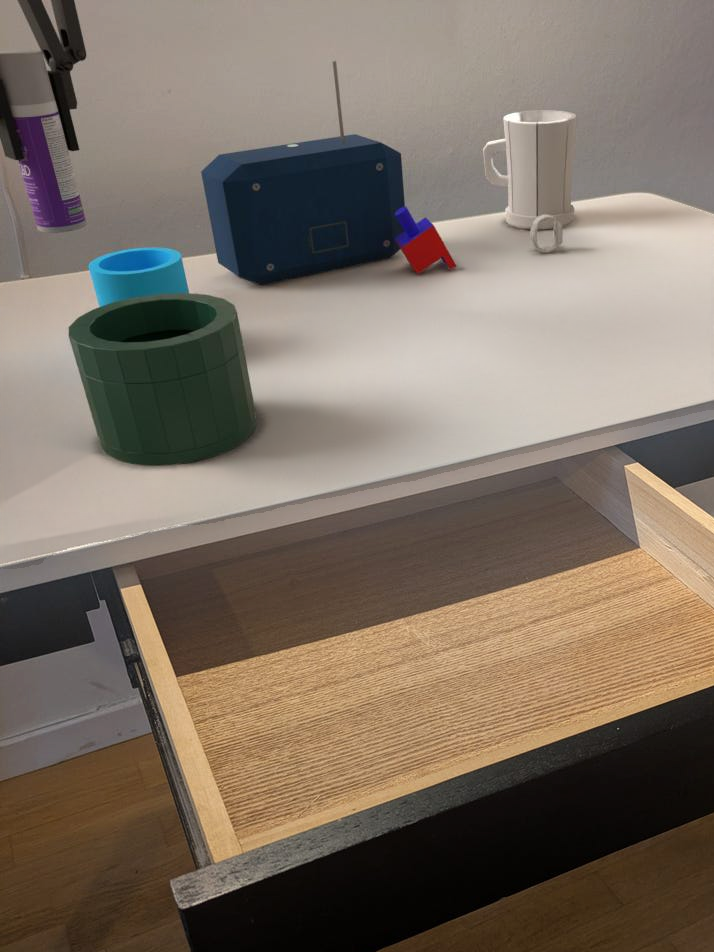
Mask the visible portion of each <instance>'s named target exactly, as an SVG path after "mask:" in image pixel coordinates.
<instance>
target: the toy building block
mask: <svg viewBox="0 0 714 952" xmlns="http://www.w3.org/2000/svg"><path fill="white" fill-rule="evenodd" d="M395 216H396V218H397V219H398V221H399V223H400V224H401V226H402V228H403V229H404V231H405V232H404V233H402V234H401V235H399V236H398V237H397V238H395V240H396V242H397V244H398V245H399V247H400V251H401V252H402V254H403V255H404V257H405V258H406V261H407V262H408V263H409V265H410V267H411V268H412V269H413V270H414V271H415V273H416V274H417V275H419V274H421V273H422V272H423V271H425V270H426V269H428V268H429V267H430V266H432V265H433V264H435V263H436V262H437V261H439V260H441V262H442V263H443V264H444V265H445V266H446V267H447V268H448V269H449V270H450V271H451V270H453V269H455V268H456V267H457V264H456V261H455V260H454V258H453V257H452V255H451V253H450V251H449V250H448V247H447V246H446V244H445V242H444V241H443V239H442V237H441V235H440V234H439V233H438V230H437V229H436V227H435V225H434V224H433V222H431V221H430V220H429V218H427V216H425V217H423V218H422V219H420V220H419V221H418V222H416V220H415V219H414V217H413V215H412V214H411V212H410V210H409V208H408V207H407V206H405V207H402V208H400V209H399V210H397V211H396V213H395Z"/></svg>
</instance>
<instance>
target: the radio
mask: <svg viewBox="0 0 714 952" xmlns="http://www.w3.org/2000/svg"><path fill="white" fill-rule="evenodd" d="M332 69H333V78H334V87H335V97H336V106H337V116H338V125H339V134H340V135H339V136H334V137H333V136H332V137H327V138H320V139H313V140H306V141H300V142H293V143H287V144H280V145H274V146H267V147H266V146H265V147H261V148H253V149H247V150H239V151H234V152H233V151H232V152H227V153H226V152H225V153H221V154H220V153H219V154H218V155H217V156H216V157H214V159H213V160H212V161H210V162H209V164H207V165H206V166H205V167H204V168H203V169H202V170H201V171H200V175H201V179H202V184H203V190H204V195H205V200H206V201H205V202H206V206H207V211H208V216H209V221H210V226H211V231H212V238H213V243H214V248H215V253H216V254H215V255H216V259H217V264H219V265H220V266H221V267H224V268H225V269H226V270H228V271H230V272H231V273H232V274H234V275H235V276H237V277H239V278H241V279H243V280H246V281H250V283H251V282H252V283H254V284H257V285H260V286H265V285H270V284H274V283H279V282H284V281H289V280H294V279H299V278H302V277H307V276H313V275H317V274H322V273H327V272H331V271H335V270H340V269H346V268H349V267H354V266H355V267H356V266H360V265H364V264H370V263H375V262H379V261H383V260H388V259H392V258H393V257H394V256H395V255H396V254H397V253H398V252H399V251H401V249H400V247H399V245H398V244H397V242H396V240H395V238H397V237H398V236H399V235H401V234H402V233H404V232H405V231H404V229H403V228H402V226H401V224H400V223H399V221H398V219H397V218H396V216H395V213H396V211H397V210H399V209H400V208H402V207H406V204H405V203H406V202H405V190H404V189H405V188H404V175H403V162H402V161H403V160H402V153H401V152H400V151H398V150H396V149H394V148H392V147H390V146H388V145H387V144H385V143H383V142H382V141H378V140H375V139H372V138H368V137H366V136H362V135H359V134H357V133H356V134H355V133H353V134H347V135H345V133H344V124H343V123H344V122H343V121H344V120H343V113H342V104H341V103H342V102H341V94H340V84H339V83H340V82H339V75H338V66H337V60H335V61H332Z"/></svg>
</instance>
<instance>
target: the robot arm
mask: <svg viewBox="0 0 714 952" xmlns="http://www.w3.org/2000/svg"><path fill="white" fill-rule="evenodd" d="M17 2H18V4H19V6H20V8H21V11H22V13H23V16H24V17H25V19H26V22H27V23H28V26H29V28H30V30H31V33H32V35H33V37H34V38H35V41H36V44H37V45H38V47H39V50H41V51H42V54H43V57H44V61H45V63H46V64H47V66H48V67H49V69H50V70H47V72H48V76H49V79H50V83H51V86H52V90H53V94H54V97H55V101H56V104H57V108H58V111H59V115H60V119H61V123H62V127H63V131H64V135H65V139H66V143H67V147H68V151H70V152H77V151H80V147H79V146H80V145H79V142H78V138H77V134H76V130H75V125H74V122H73V121H74V120H73V118H72V113H71V110H77V109H78V100H77V96H76V92H75V87H74V83H73V79H72V76H71V71H73V69H74V65H76V64H77V63H79V62H84V61H85V60H86V59H87V50H86V45H85V40H84V36H83V32H82V28H81V24H80V23H81V22H80V20H79V15H78V14H79V13H78V11H77V10H78V9H77V6H76V2H75V0H50V3H51V7H52V11H53V16H54V21H55V24H56V29H57V31H58V32H57V31H56V29H55V26H54V25H53V22H52V20H51V18H50V15H49V13H48V11H47V9H46V7H45V5H44V2H43V0H17ZM0 142H1V146H2V150H3V154H4V156H5V157H6V158H8V159H12V160H14V161H18V160H22V159H24V157H23V153H22V149H21V146H20V142H19V139H18V135H17V132H16V128H15V124H14V121H13V117H12V114H11V110H10V106H9V103H8V99H7V96H6V92H5V88H4V85H3V81H2V80H1V79H0Z"/></svg>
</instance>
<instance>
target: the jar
mask: <svg viewBox="0 0 714 952" xmlns="http://www.w3.org/2000/svg"><path fill="white" fill-rule="evenodd" d="M239 320H240V319H239V314H238V311H237V309H236V305H235V304H234V303H231V302H230V301H228V300H227V299H225V298H222V297H219V296H214V295H210V294H204V293H203V294H202V293H191V292H189V293H171V294H157V295H149V296H141V297H135V298H130V299H126V300H122V301H117V302H113V303H110V304H107V305H104V306H101V307H99V306H98V307H95V308H94V309H91V310H88V311H87V312H86V313H84V314H82V315H80V316H78V317H77V318H76V319H75V320H74V321H73V322H72V323H71V324H70V325H69V326H68V338H69V343H70V346H71V349H72V352H73V356H74V360H75V363H76V366H77V369H78V373H79V376H80V379H81V383H82V386H83V391H84V394H85V397H86V401H87V403H88V407H89V411H90V414H91V417H92V421H93V424H94V427H95V431H96V434H97V437H98V438H99V441H100V445H101V447H102V450H103V451H104V452H105V453H106V454H107V455H108V456H110V457H111V458H113V459H115V460H118V461H120V462H123V463H127V464H131V465H137V466H138V465H139V466H149V467H150V466H151V467H152V466H153V467H154V466H155V467H157V466H173V465H181V464H188V463H193V462H197V461H201V460H205V459H209V458H212V457H215V456H218V455H221V454H223V453H225V452H228V451H230V450H232V449H234V448H235V447H238V446H239V445H241V444H242V443H243V442H245V441H246V440H247V439H248V438H250V437H251V435H252V434H253V433H254V431H255V430H256V427H257V423H258V422H257V415H256V406H255V402H254V401H255V400H254V395H253V390H252V385H251V379H250V373H249V367H248V363H247V358H246V352H245V346H244V342H243V337H242V330H241V325H240V321H239Z"/></svg>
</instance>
